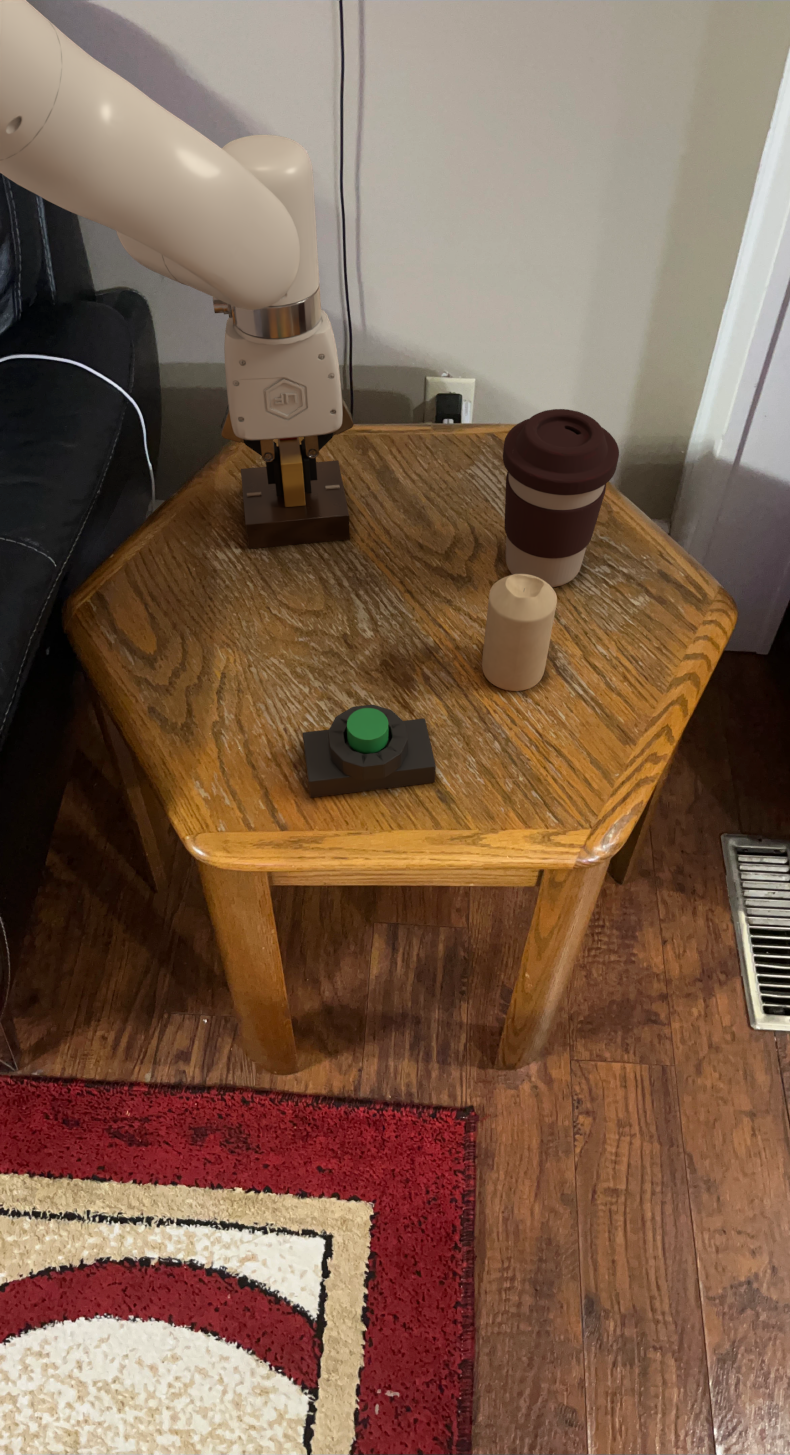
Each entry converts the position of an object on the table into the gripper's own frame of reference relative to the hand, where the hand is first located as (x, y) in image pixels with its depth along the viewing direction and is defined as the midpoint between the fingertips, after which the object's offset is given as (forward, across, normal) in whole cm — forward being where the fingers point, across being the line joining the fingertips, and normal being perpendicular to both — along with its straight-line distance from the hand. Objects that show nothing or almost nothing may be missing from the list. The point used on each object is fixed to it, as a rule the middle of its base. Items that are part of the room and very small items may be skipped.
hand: (293, 485), depth 96 cm
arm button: (0, +3, -33) cm, 33 cm away
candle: (+4, +17, -24) cm, 30 cm away
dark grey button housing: (+4, +3, -33) cm, 33 cm away
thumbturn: (+1, 0, 0) cm, 1 cm away
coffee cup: (+4, +23, -11) cm, 26 cm away
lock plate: (+4, 0, 0) cm, 4 cm away
